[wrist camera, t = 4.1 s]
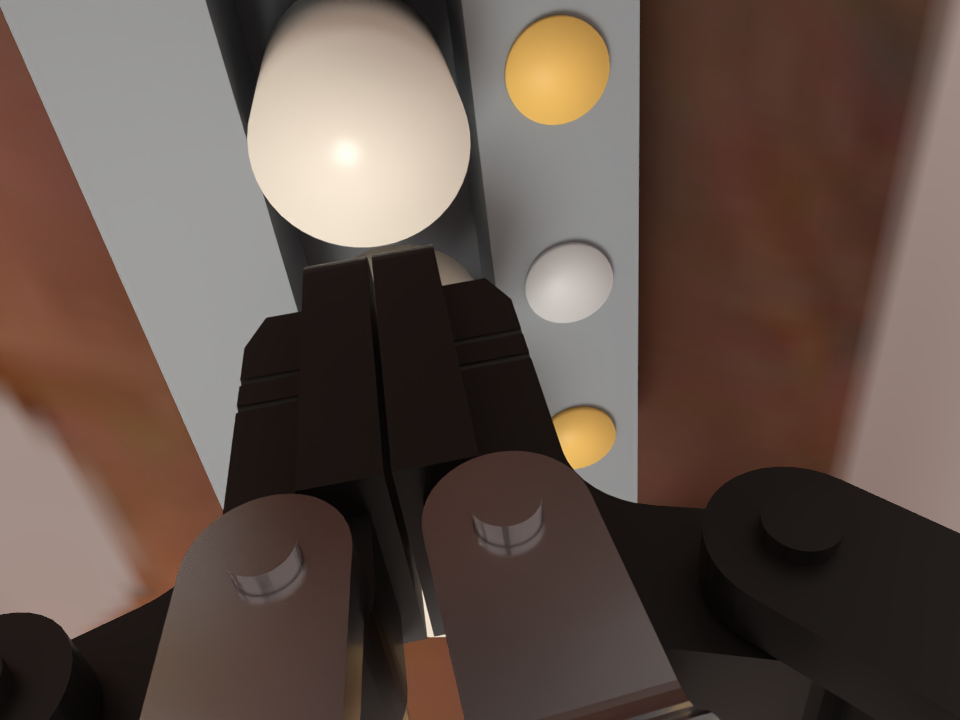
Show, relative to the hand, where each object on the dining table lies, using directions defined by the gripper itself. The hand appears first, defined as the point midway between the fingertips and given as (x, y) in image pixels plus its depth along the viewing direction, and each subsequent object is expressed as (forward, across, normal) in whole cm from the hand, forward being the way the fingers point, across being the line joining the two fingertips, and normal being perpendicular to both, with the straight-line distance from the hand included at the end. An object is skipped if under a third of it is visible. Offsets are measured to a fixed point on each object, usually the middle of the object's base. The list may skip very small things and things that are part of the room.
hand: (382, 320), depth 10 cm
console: (+12, 0, +6) cm, 14 cm away
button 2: (+10, 0, 0) cm, 10 cm away
